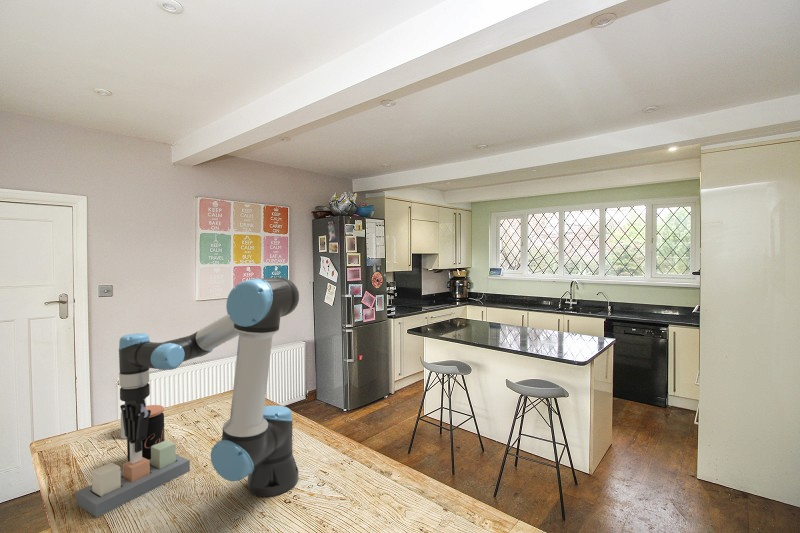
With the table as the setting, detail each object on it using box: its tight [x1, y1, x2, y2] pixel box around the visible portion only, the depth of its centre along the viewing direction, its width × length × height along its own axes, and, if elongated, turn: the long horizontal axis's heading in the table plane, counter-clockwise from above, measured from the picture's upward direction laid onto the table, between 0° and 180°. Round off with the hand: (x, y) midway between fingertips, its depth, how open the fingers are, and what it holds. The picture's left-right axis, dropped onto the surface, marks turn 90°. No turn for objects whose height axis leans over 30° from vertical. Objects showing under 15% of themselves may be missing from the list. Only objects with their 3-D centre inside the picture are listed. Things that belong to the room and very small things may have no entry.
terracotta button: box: [122, 457, 150, 483], centre depth 118 cm, size 5×5×6 cm
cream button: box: [91, 462, 121, 497], centre depth 111 cm, size 5×5×6 cm
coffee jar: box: [126, 404, 166, 462], centre depth 131 cm, size 11×11×18 cm
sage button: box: [151, 439, 177, 469], centre depth 125 cm, size 5×5×6 cm
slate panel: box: [75, 454, 191, 518], centre depth 118 cm, size 12×26×4 cm, turn 151°
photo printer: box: [120, 410, 127, 440], centre depth 153 cm, size 10×4×12 cm, turn 13°
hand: (136, 461), depth 118 cm, fingers closed
